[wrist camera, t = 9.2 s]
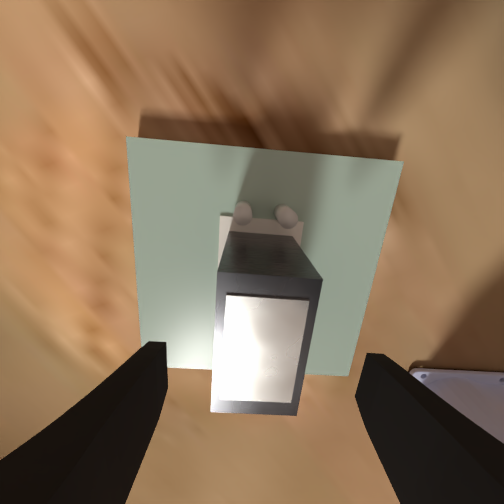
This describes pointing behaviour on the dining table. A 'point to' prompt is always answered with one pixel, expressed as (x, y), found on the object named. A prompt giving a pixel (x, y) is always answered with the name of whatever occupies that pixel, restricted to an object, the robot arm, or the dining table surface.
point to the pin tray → (253, 221)
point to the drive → (262, 324)
